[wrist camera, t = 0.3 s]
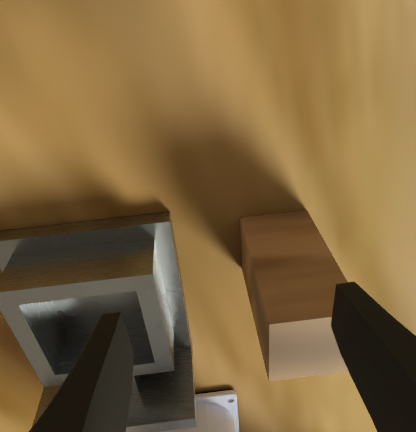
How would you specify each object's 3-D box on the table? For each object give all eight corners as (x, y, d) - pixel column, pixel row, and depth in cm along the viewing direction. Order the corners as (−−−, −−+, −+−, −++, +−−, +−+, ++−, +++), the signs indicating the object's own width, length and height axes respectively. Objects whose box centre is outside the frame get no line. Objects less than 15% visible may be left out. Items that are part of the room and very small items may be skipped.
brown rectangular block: (302, 261, 24) (352, 370, 18) (242, 268, 24) (268, 381, 18) (306, 209, 22) (364, 312, 16) (239, 217, 22) (269, 324, 15)
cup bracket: (192, 345, 28) (196, 427, 23) (58, 362, 28) (33, 447, 23) (169, 211, 21) (169, 285, 16) (-7, 232, 21) (-61, 312, 16)
